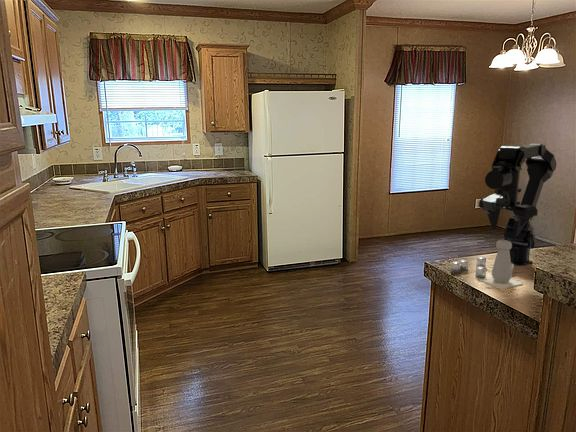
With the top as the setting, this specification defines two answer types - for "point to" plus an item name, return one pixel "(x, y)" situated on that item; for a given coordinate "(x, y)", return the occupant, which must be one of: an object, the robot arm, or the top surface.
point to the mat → (501, 285)
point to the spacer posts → (480, 268)
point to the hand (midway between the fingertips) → (504, 232)
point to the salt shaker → (502, 262)
